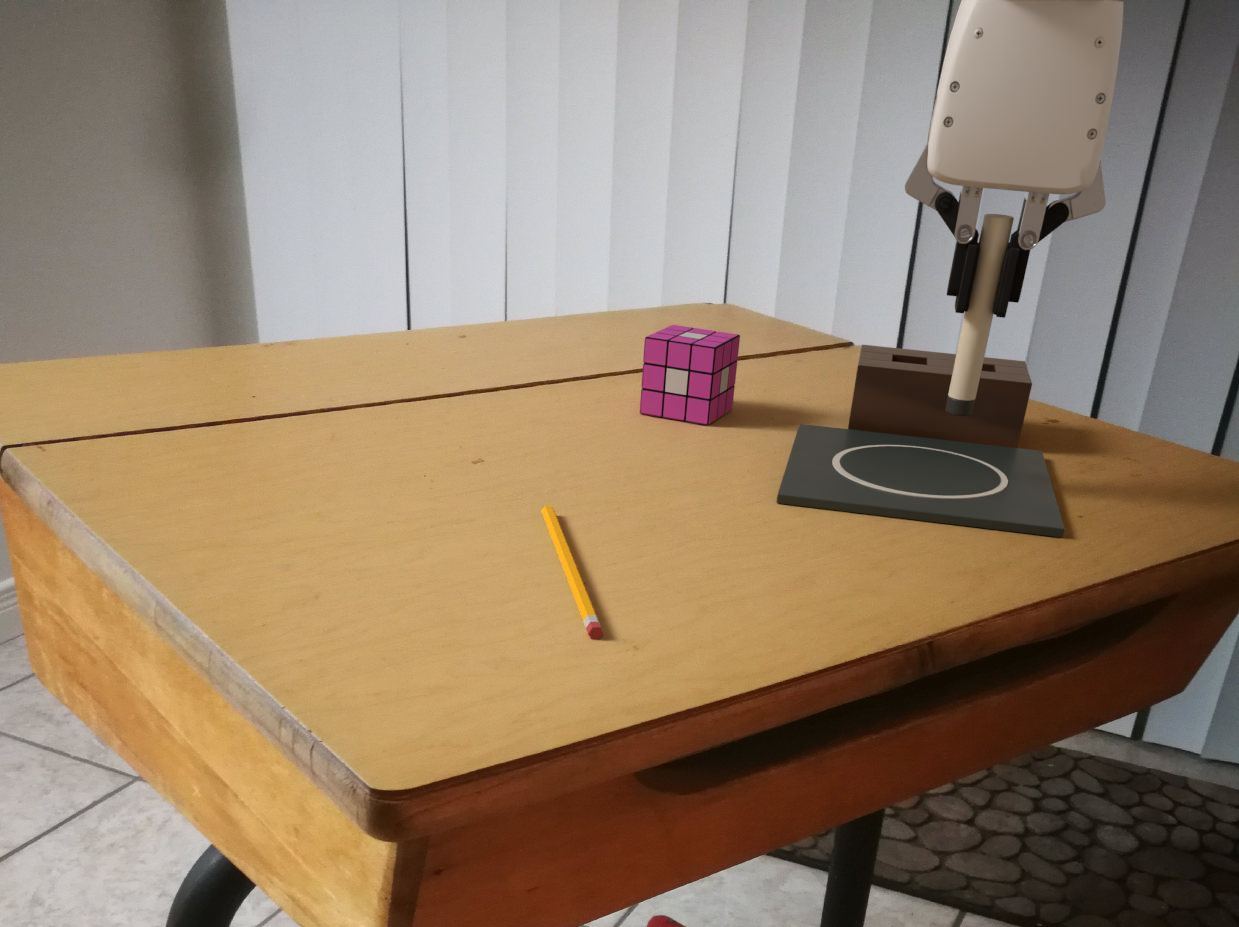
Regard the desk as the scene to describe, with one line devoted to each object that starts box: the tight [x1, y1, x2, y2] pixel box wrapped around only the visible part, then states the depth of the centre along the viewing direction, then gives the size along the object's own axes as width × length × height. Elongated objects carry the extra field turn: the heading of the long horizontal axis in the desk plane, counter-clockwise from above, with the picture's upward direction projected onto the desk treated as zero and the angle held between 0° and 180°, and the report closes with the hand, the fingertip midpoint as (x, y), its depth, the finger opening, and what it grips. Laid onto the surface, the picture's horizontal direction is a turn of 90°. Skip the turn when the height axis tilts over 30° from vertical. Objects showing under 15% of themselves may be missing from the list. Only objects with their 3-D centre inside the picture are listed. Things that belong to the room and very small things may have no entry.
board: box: [776, 423, 1065, 538], centre depth 89 cm, size 18×18×1 cm
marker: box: [945, 213, 1015, 416], centre depth 83 cm, size 2×2×12 cm
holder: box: [847, 344, 1033, 448], centre depth 99 cm, size 8×13×5 cm, turn 78°
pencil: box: [541, 504, 605, 640], centre depth 71 cm, size 1×18×1 cm, turn 10°
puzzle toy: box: [639, 324, 741, 426], centre depth 99 cm, size 6×6×6 cm
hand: (979, 309), depth 83 cm, fingers closed on marker, 1 cm apart
